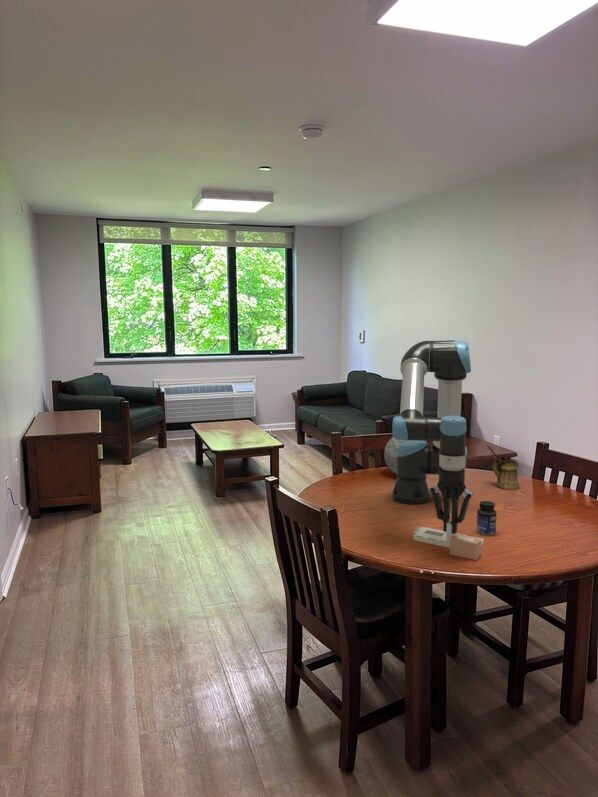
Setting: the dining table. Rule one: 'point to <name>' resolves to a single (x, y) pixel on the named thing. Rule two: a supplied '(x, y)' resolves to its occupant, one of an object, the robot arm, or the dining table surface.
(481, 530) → the pill bottle
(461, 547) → the stub
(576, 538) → the dining table surface
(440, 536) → the white grooved bar
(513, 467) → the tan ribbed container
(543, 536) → the dining table surface
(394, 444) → the decorative sphere
